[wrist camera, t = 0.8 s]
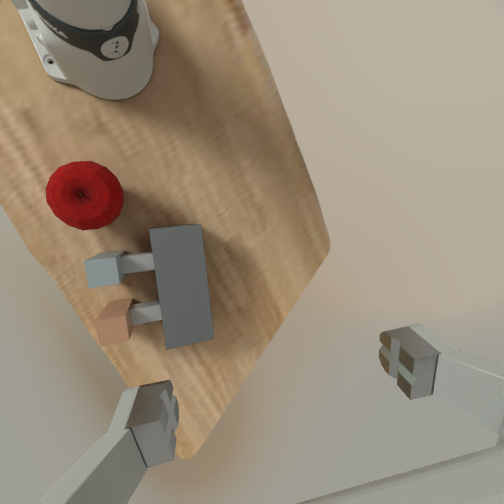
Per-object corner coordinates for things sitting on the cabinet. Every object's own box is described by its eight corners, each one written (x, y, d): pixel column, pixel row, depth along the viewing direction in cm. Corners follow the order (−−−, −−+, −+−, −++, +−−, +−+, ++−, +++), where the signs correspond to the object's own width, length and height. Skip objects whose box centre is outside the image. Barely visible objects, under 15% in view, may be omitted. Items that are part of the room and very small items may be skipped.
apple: (95, 157, 43) (73, 138, 32) (142, 199, 46) (135, 193, 35) (50, 199, 41) (13, 193, 31) (102, 239, 44) (82, 245, 34)
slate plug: (99, 253, 44) (83, 261, 36) (160, 246, 47) (158, 251, 39) (103, 275, 45) (89, 288, 37) (162, 267, 48) (162, 277, 40)
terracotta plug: (108, 302, 46) (95, 321, 37) (166, 292, 49) (166, 307, 40) (112, 323, 46) (100, 346, 38) (169, 312, 49) (170, 331, 41)
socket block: (151, 227, 47) (148, 229, 39) (195, 223, 49) (201, 224, 42) (166, 330, 50) (166, 349, 42) (207, 321, 52) (214, 338, 45)
